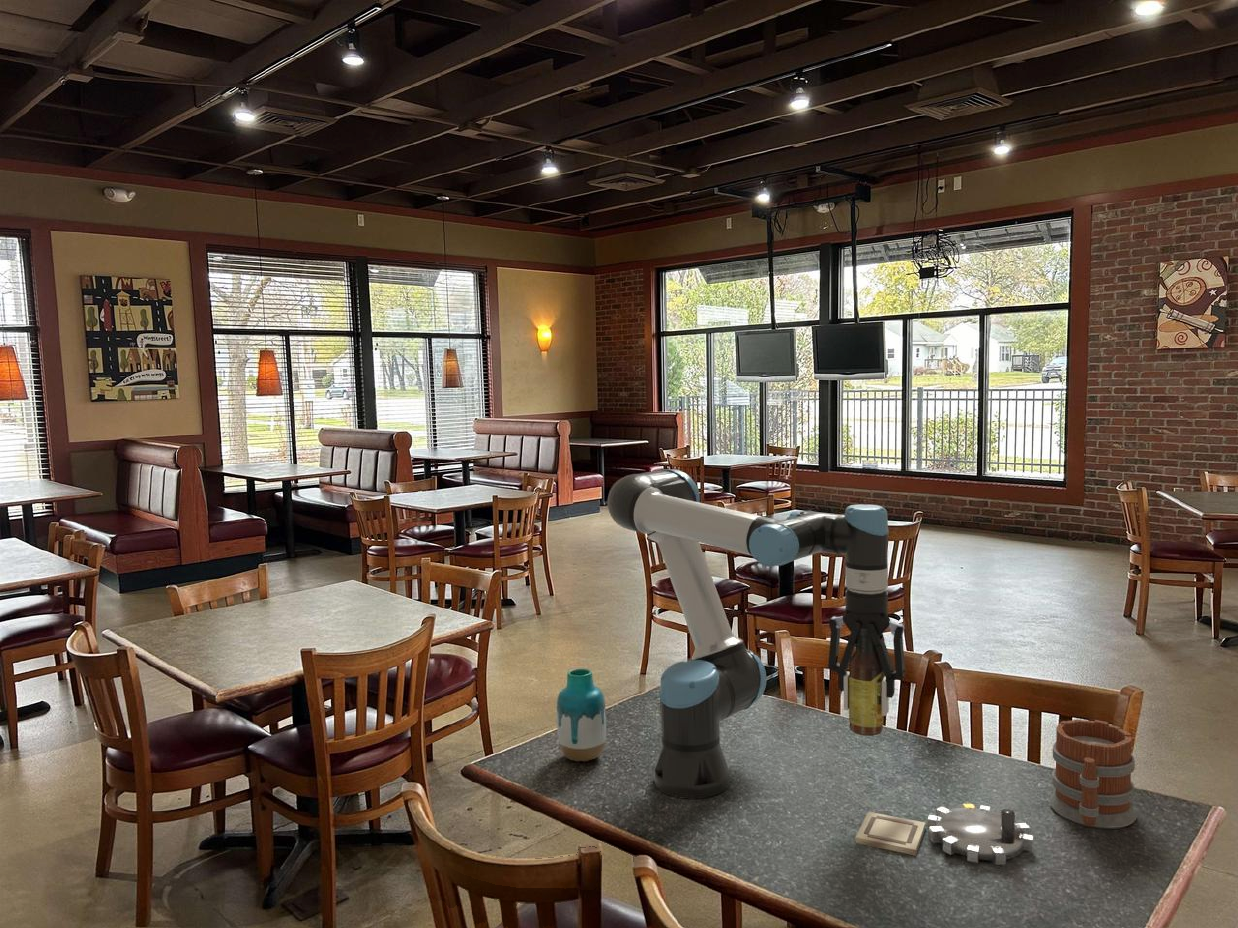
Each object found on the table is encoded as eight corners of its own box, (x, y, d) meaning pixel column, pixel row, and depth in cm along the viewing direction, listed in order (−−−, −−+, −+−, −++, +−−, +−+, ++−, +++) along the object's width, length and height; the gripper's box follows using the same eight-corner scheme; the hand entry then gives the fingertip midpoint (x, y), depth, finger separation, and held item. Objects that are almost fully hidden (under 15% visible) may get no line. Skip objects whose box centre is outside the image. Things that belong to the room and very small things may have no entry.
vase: (616, 753, 192) (613, 668, 190) (589, 772, 183) (585, 683, 181) (577, 744, 197) (573, 661, 196) (548, 762, 189) (544, 675, 187)
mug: (1137, 802, 162) (1138, 724, 161) (1135, 851, 146) (1137, 764, 145) (1052, 787, 170) (1053, 711, 168) (1042, 832, 153) (1043, 749, 152)
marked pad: (855, 842, 152) (855, 836, 152) (868, 816, 161) (868, 810, 160) (915, 855, 147) (915, 849, 147) (925, 827, 156) (925, 821, 156)
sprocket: (986, 873, 140) (986, 831, 139) (907, 831, 154) (907, 793, 153) (1049, 842, 148) (1050, 803, 148) (969, 805, 162) (969, 769, 161)
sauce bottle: (884, 738, 161) (886, 632, 159) (849, 736, 162) (850, 631, 160) (881, 724, 167) (882, 622, 165) (847, 722, 168) (848, 621, 166)
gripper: (809, 588, 163) (809, 709, 165) (917, 598, 154) (916, 725, 156) (820, 580, 170) (820, 695, 172) (924, 589, 160) (923, 711, 163)
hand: (866, 709), depth 164 cm, fingers closed on sauce bottle, 6 cm apart
